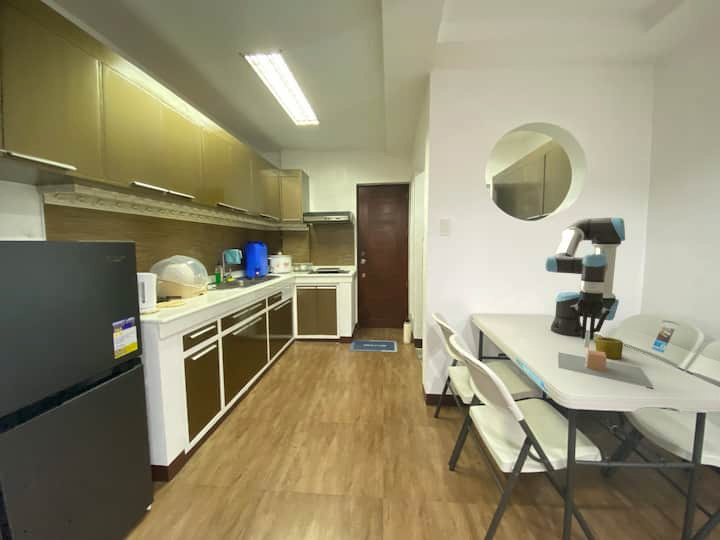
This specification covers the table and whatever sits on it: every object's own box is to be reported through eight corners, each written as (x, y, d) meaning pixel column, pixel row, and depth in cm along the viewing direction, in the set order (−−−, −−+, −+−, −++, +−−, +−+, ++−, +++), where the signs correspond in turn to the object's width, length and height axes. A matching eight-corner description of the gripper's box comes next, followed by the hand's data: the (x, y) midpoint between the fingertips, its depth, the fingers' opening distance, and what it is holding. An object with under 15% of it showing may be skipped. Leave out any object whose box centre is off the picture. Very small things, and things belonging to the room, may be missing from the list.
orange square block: (586, 349, 121) (604, 352, 118) (585, 362, 122) (603, 365, 119) (587, 353, 116) (606, 357, 113) (586, 367, 117) (605, 371, 114)
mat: (558, 352, 133) (558, 352, 133) (640, 368, 117) (640, 367, 117) (558, 368, 117) (558, 367, 117) (653, 389, 101) (653, 388, 101)
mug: (633, 358, 122) (624, 335, 124) (607, 363, 125) (598, 341, 126) (616, 353, 134) (608, 332, 136) (592, 357, 136) (584, 337, 138)
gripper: (572, 291, 117) (567, 345, 120) (613, 294, 110) (608, 352, 112) (571, 288, 123) (566, 340, 126) (610, 291, 116) (605, 347, 118)
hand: (586, 346), depth 119 cm, fingers closed
